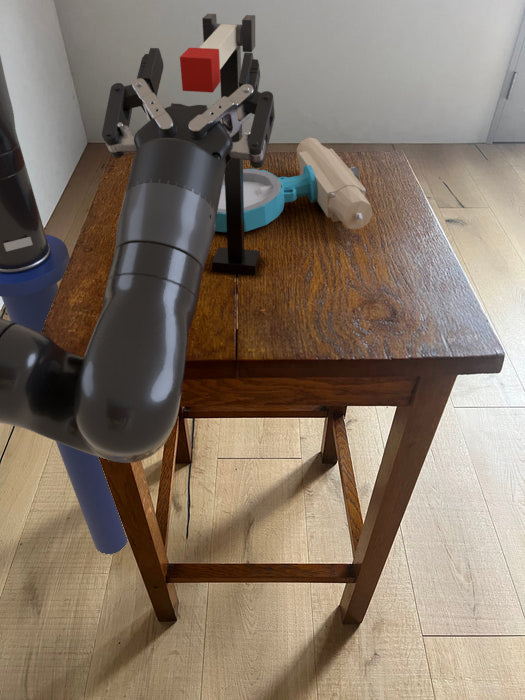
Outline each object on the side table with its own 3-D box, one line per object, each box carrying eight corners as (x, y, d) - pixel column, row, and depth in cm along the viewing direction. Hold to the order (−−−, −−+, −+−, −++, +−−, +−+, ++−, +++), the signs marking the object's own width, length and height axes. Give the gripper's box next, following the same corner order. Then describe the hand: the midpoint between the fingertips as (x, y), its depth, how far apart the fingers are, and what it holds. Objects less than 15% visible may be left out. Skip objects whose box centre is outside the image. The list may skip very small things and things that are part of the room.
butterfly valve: (191, 279, 81) (389, 236, 84) (181, 237, 76) (391, 193, 79) (173, 196, 101) (333, 163, 103) (164, 159, 96) (332, 126, 99)
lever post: (212, 271, 78) (196, 19, 58) (218, 256, 81) (205, 11, 61) (255, 275, 77) (254, 22, 57) (259, 259, 80) (260, 13, 60)
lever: (182, 91, 50) (179, 56, 48) (219, 46, 62) (218, 17, 60) (213, 92, 50) (211, 58, 48) (244, 47, 61) (243, 18, 60)
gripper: (251, 193, 41) (279, 24, 46) (68, 179, 43) (113, 18, 48) (259, 243, 48) (283, 92, 53) (101, 230, 50) (138, 85, 55)
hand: (203, 57), depth 51 cm, fingers open, 8 cm apart
